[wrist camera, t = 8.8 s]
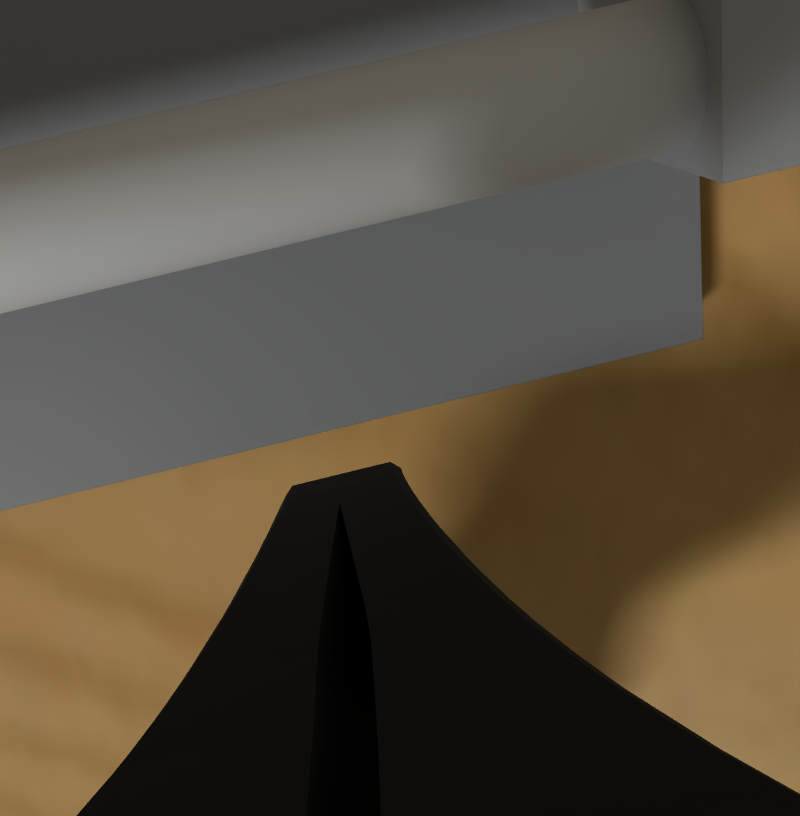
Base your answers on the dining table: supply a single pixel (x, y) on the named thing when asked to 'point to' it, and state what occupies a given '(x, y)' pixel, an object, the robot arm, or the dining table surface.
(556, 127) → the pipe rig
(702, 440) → the dining table surface
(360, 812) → the robot arm
